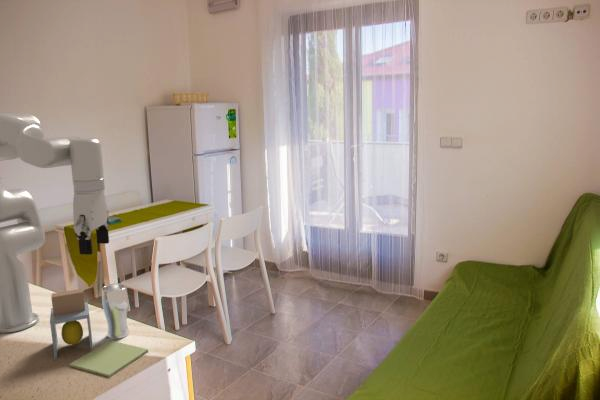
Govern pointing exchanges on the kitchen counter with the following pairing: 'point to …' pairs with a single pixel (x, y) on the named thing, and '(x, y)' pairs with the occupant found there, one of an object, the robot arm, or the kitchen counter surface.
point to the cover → (68, 312)
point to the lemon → (72, 332)
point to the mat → (109, 358)
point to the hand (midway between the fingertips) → (95, 248)
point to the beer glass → (115, 310)
